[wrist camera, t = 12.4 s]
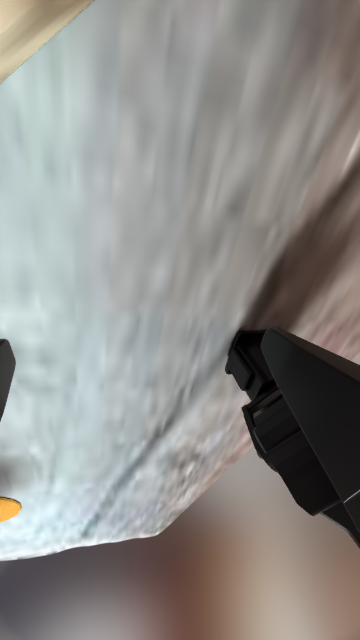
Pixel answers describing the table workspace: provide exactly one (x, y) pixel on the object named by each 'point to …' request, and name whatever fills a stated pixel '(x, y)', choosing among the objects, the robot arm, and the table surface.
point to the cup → (8, 508)
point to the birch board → (31, 27)
